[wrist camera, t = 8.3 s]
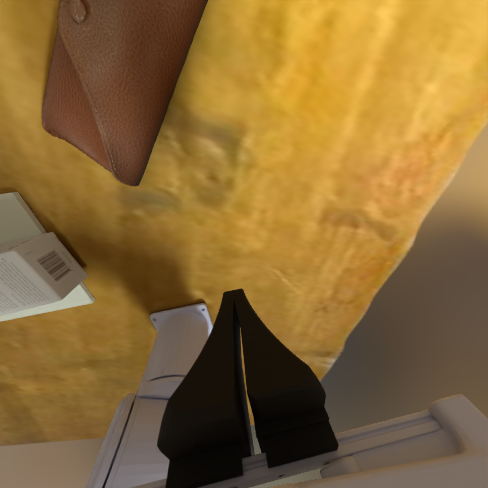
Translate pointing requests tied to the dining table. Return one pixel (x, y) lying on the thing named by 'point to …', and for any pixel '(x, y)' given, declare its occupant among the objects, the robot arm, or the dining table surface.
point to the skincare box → (36, 273)
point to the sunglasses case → (117, 76)
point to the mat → (24, 226)
